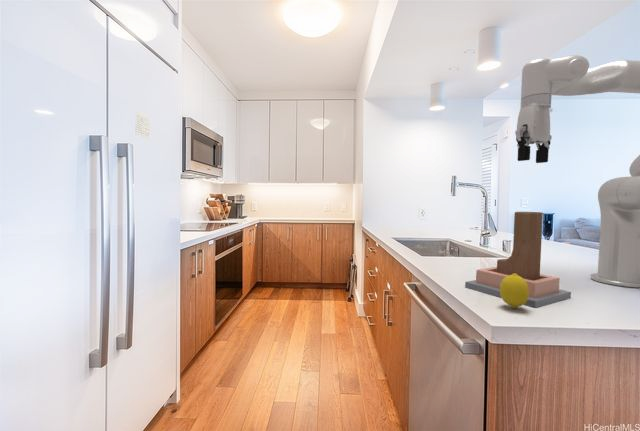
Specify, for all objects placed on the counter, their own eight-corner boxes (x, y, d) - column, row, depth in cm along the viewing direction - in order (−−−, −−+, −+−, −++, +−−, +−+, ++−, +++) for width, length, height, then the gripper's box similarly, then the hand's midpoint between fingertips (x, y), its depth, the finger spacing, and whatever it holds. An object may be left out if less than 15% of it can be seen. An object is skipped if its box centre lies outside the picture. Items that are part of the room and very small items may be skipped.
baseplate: (500, 280, 92) (500, 264, 92) (570, 297, 76) (571, 278, 76) (465, 287, 85) (465, 269, 84) (535, 307, 69) (536, 286, 68)
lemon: (494, 303, 71) (496, 270, 71) (519, 304, 71) (521, 271, 70) (506, 312, 66) (508, 276, 65) (533, 313, 65) (535, 277, 65)
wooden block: (495, 275, 84) (498, 210, 83) (507, 274, 85) (510, 210, 84) (527, 284, 75) (531, 212, 74) (540, 282, 77) (543, 212, 76)
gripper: (537, 111, 98) (535, 164, 99) (505, 103, 90) (503, 161, 91) (565, 105, 91) (562, 162, 92) (532, 95, 83) (530, 158, 84)
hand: (532, 161), depth 91 cm, fingers open, 9 cm apart
